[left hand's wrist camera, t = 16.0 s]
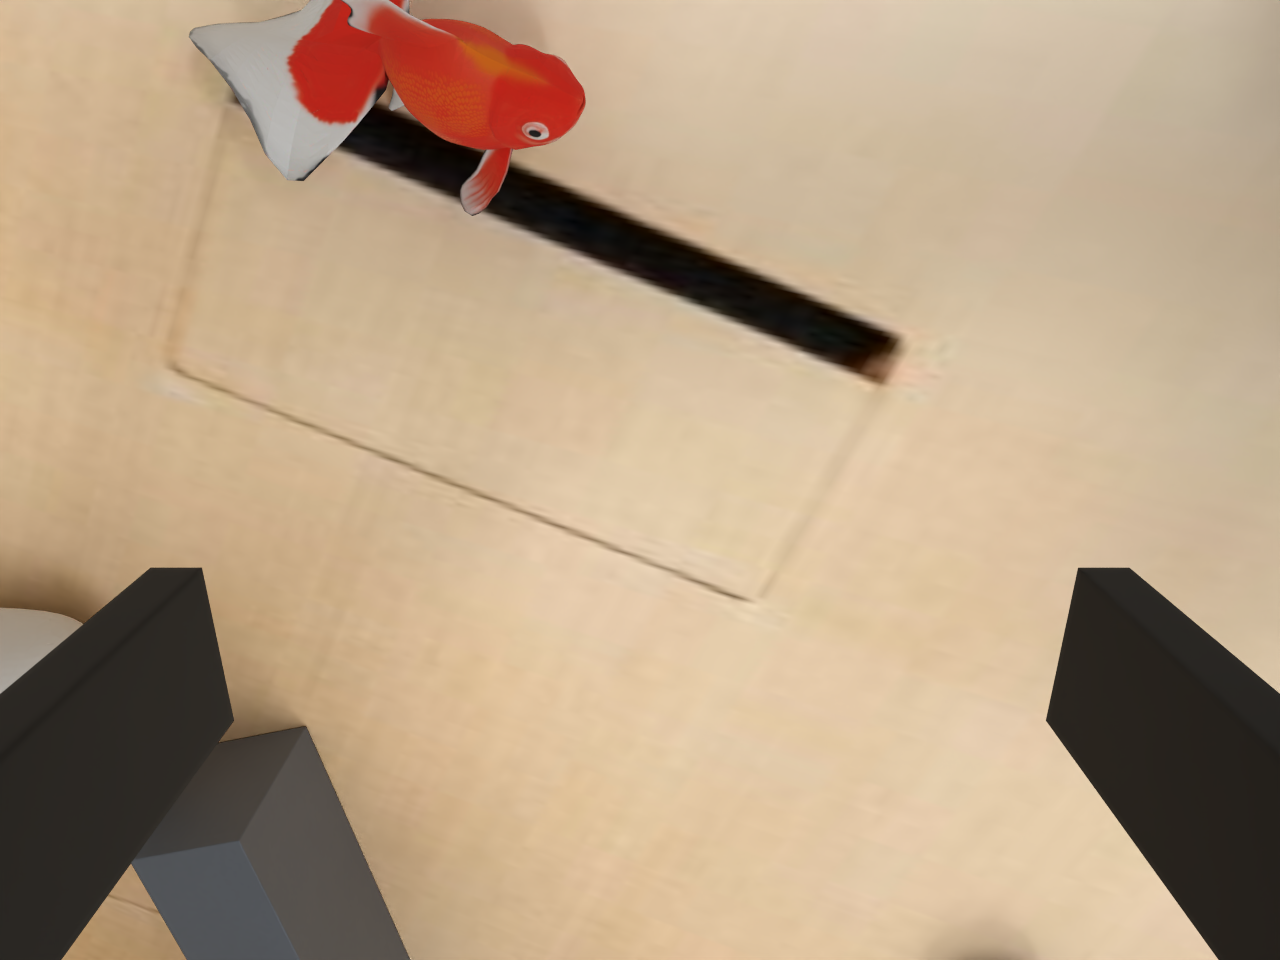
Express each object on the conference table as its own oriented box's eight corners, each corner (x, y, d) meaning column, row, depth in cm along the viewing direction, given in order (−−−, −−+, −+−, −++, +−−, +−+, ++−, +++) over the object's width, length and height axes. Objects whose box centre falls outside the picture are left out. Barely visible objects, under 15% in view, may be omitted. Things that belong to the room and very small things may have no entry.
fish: (502, 333, 35) (387, 225, 25) (247, 165, 39) (63, 17, 29) (647, 125, 35) (588, -61, 26) (379, -21, 39) (240, -230, 30)
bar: (213, 743, 49) (128, 860, 40) (306, 725, 48) (238, 840, 40) (350, 1018, 57) (303, 1161, 49) (431, 1005, 56) (395, 1148, 48)
